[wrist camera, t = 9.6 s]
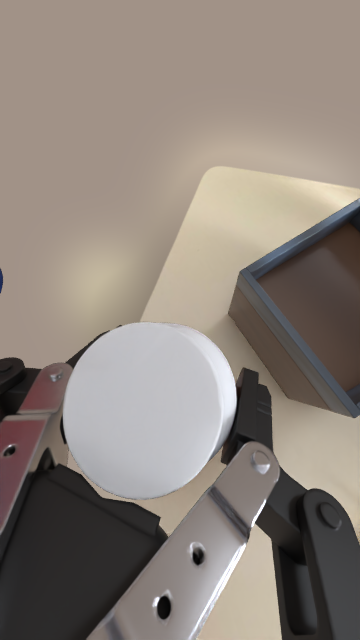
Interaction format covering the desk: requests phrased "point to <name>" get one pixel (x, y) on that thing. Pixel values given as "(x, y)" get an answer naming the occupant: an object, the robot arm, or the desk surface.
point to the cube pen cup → (308, 313)
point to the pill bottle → (148, 408)
